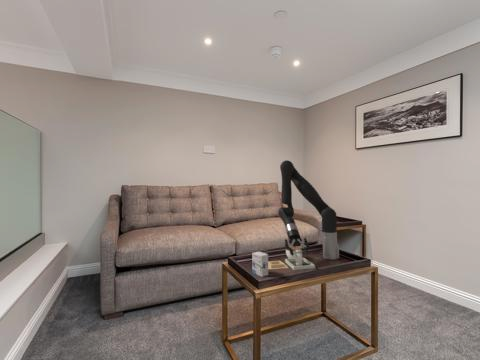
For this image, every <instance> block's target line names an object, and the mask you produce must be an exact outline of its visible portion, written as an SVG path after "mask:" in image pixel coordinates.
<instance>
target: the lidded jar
mask: <svg viewBox="0 0 480 360" xmlns="http://www.w3.org/2000/svg"><path fill="white" fill-rule="evenodd" d="M288 247H290V245H288ZM296 249H301V250H302V251H303V248H301V247H300V246H296V247H294V246H293V247H292V250H293V253H294V255H293V256H292V255H291V254H290V251H289V250H286V249H285V254H286V257H287V259H291V258H296V257H295V250H296Z"/></svg>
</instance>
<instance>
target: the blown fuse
mask: <svg viewBox="0 0 480 360" xmlns="http://www.w3.org/2000/svg"><path fill="white" fill-rule="evenodd" d="M295 257H296V261H295V266H304V265H303V262H304V261H302V258H303V249H302V250H301V249H296V250H295Z"/></svg>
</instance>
